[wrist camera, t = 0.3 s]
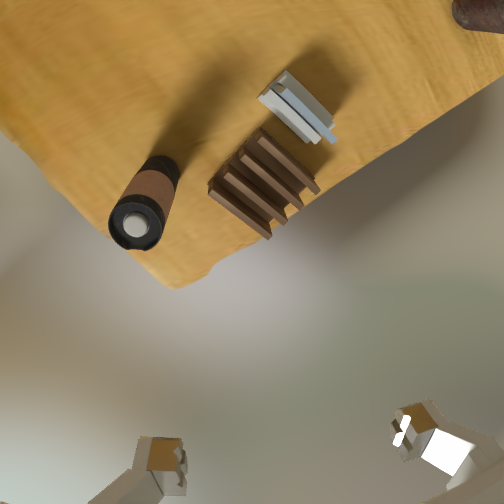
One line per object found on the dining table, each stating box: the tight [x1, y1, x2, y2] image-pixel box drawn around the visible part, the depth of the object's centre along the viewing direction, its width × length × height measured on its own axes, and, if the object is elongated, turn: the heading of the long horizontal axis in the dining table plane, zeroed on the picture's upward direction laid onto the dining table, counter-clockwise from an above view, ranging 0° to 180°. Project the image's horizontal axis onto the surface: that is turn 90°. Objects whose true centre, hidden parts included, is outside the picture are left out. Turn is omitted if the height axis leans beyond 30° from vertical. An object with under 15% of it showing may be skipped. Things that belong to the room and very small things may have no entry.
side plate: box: [272, 84, 338, 145], centre depth 45 cm, size 1×11×9 cm, turn 48°
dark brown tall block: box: [452, 0, 504, 34], centre depth 29 cm, size 8×7×20 cm
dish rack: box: [208, 127, 321, 240], centre depth 55 cm, size 14×14×6 cm
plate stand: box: [257, 70, 335, 145], centre depth 48 cm, size 7×12×4 cm, turn 47°
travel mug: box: [108, 156, 179, 251], centre depth 47 cm, size 8×8×20 cm
